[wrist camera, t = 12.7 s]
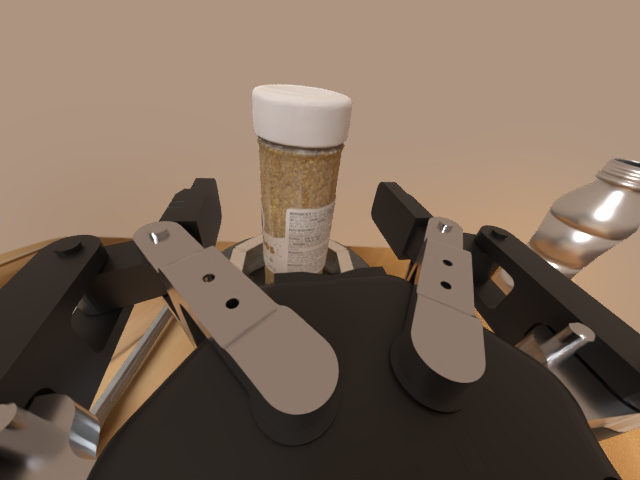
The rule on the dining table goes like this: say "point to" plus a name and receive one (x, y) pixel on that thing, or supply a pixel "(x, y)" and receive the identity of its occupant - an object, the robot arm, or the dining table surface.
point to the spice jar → (298, 172)
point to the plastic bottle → (587, 221)
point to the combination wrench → (129, 369)
